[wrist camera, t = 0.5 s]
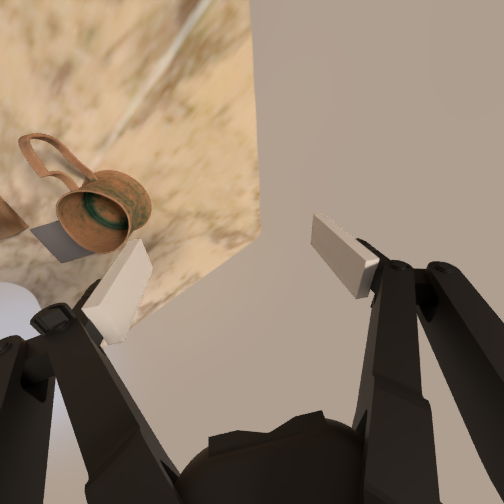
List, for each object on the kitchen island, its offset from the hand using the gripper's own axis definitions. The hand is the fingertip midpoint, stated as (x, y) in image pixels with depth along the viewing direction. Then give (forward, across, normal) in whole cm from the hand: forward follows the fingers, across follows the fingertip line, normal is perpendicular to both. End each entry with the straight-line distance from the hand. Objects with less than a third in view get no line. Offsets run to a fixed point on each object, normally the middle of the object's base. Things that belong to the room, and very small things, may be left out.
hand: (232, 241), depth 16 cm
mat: (+27, -32, -10) cm, 43 cm away
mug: (+28, -20, 0) cm, 34 cm away
